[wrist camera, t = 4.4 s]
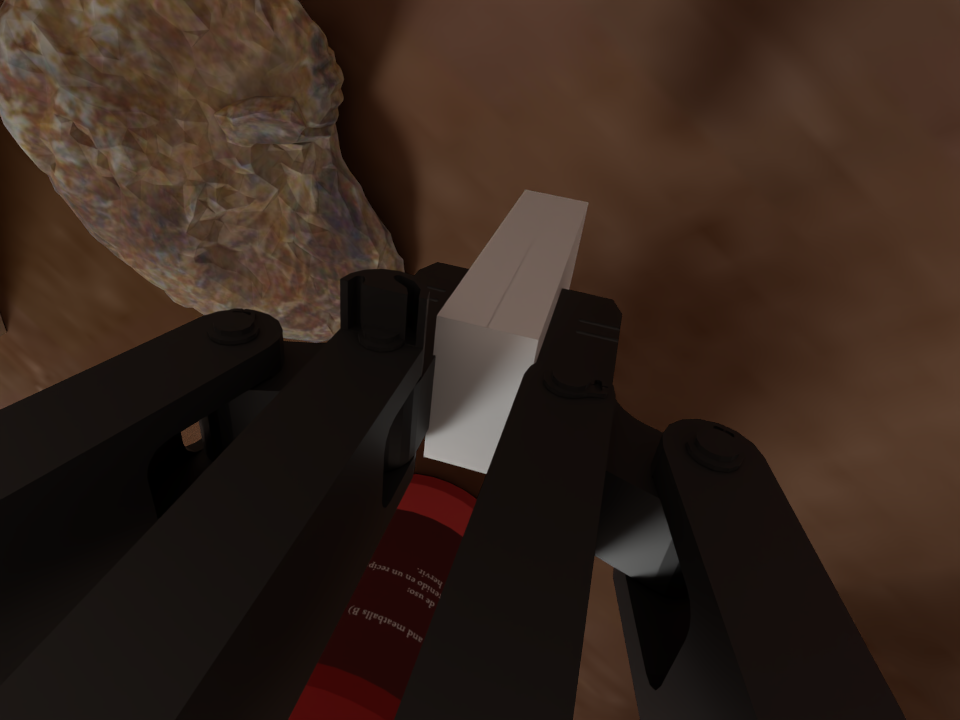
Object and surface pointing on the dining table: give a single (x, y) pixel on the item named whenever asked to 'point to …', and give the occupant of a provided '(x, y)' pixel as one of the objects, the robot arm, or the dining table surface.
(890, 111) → the dining table surface
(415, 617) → the canned food
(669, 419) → the dining table surface
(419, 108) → the dining table surface
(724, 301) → the dining table surface
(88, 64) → the oyster shell
